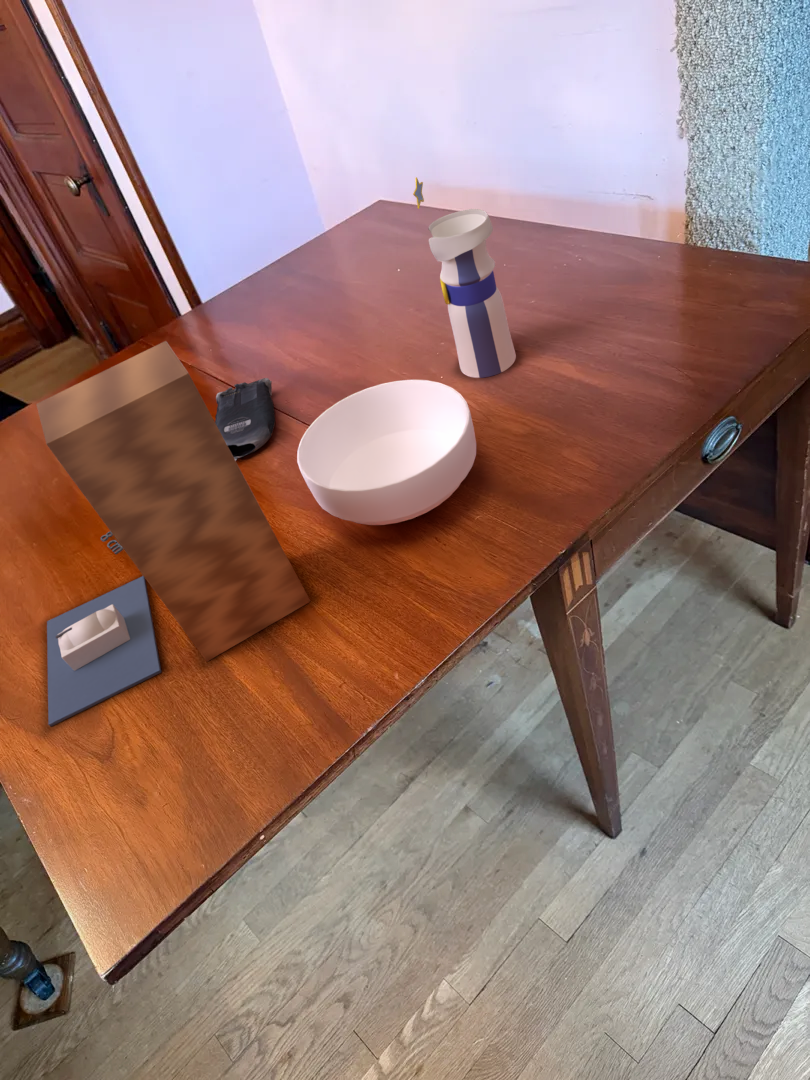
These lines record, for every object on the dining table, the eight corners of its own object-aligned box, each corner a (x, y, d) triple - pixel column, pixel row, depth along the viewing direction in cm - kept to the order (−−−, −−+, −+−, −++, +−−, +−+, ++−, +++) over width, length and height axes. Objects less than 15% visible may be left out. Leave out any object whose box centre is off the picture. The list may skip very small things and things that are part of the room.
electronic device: (219, 421, 112) (210, 467, 100) (209, 387, 109) (197, 430, 97) (280, 409, 113) (278, 454, 100) (271, 375, 110) (268, 416, 97)
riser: (206, 661, 75) (46, 444, 57) (187, 615, 81) (35, 403, 63) (310, 601, 78) (188, 373, 59) (284, 560, 83) (165, 340, 65)
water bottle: (459, 386, 99) (411, 197, 83) (455, 354, 105) (409, 172, 89) (521, 371, 98) (484, 176, 81) (513, 339, 104) (477, 152, 87)
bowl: (516, 495, 81) (503, 433, 75) (354, 577, 78) (327, 519, 73) (441, 416, 95) (424, 359, 90) (302, 483, 93) (276, 429, 87)
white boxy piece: (73, 671, 79) (54, 650, 77) (69, 648, 82) (49, 627, 80) (131, 639, 80) (113, 617, 78) (124, 617, 83) (107, 596, 81)
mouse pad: (161, 672, 76) (159, 670, 76) (50, 726, 75) (48, 724, 74) (145, 577, 88) (143, 575, 88) (48, 623, 87) (46, 621, 86)
